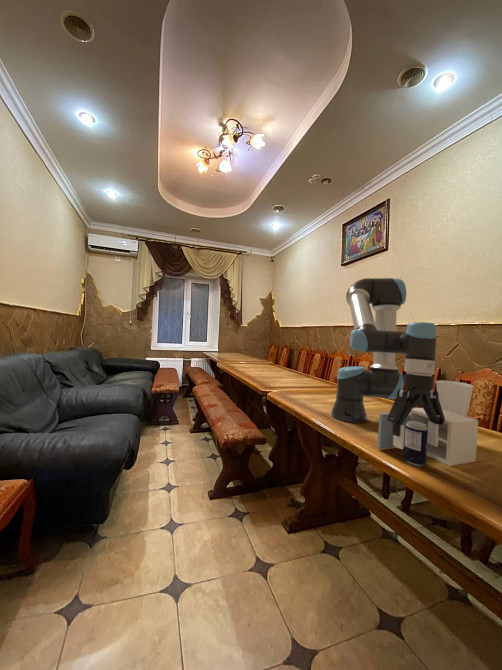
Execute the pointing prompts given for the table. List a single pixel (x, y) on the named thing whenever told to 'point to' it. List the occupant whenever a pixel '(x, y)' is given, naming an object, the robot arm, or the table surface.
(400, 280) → the robot arm
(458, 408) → the cup
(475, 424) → the cabinet
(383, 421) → the door
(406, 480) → the table surface
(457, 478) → the table surface
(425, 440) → the beverage can
